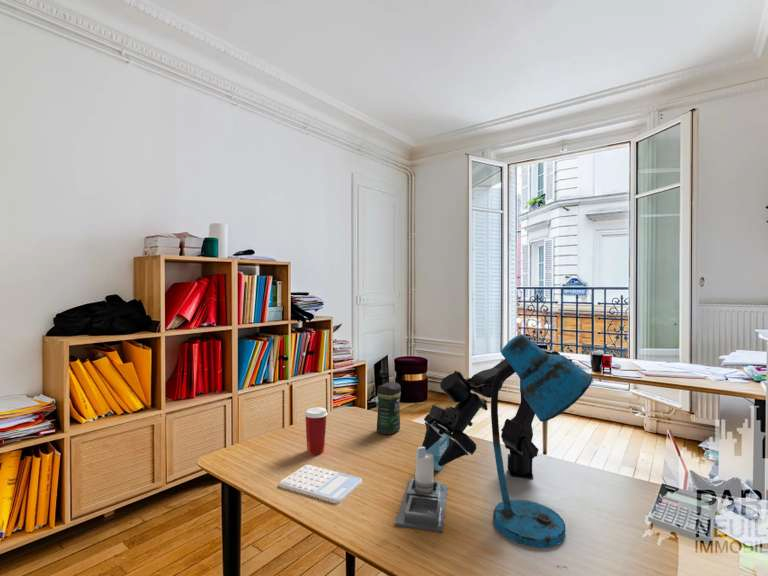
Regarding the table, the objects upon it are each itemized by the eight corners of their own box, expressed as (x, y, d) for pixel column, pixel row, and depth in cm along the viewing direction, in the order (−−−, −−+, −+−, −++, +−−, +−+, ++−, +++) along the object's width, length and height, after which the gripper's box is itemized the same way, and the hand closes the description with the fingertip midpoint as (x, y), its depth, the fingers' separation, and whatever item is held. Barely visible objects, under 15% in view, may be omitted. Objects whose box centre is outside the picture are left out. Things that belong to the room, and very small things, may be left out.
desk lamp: (596, 561, 81) (599, 342, 81) (486, 536, 88) (488, 336, 88) (585, 518, 96) (587, 334, 96) (492, 500, 103) (494, 329, 103)
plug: (427, 486, 109) (428, 442, 109) (437, 495, 104) (437, 449, 104) (411, 490, 107) (412, 444, 107) (420, 499, 102) (421, 452, 102)
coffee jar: (391, 436, 146) (392, 387, 146) (373, 432, 150) (374, 384, 150) (403, 428, 155) (404, 381, 155) (385, 425, 159) (386, 379, 159)
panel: (447, 487, 110) (447, 479, 110) (442, 532, 90) (442, 522, 90) (409, 482, 112) (409, 474, 112) (395, 525, 92) (395, 516, 92)
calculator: (306, 468, 121) (306, 462, 121) (363, 483, 112) (363, 477, 112) (277, 488, 109) (277, 481, 109) (338, 506, 100) (338, 499, 100)
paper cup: (331, 450, 134) (332, 409, 134) (316, 458, 127) (316, 415, 127) (314, 445, 138) (315, 405, 138) (298, 452, 131) (299, 411, 131)
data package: (438, 473, 118) (438, 433, 118) (424, 470, 120) (424, 430, 120) (450, 458, 129) (450, 421, 129) (437, 455, 131) (437, 419, 131)
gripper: (429, 386, 117) (396, 428, 112) (466, 403, 100) (429, 454, 95) (451, 409, 120) (420, 451, 116) (491, 429, 103) (456, 480, 99)
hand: (429, 458), depth 106 cm, fingers open, 9 cm apart
